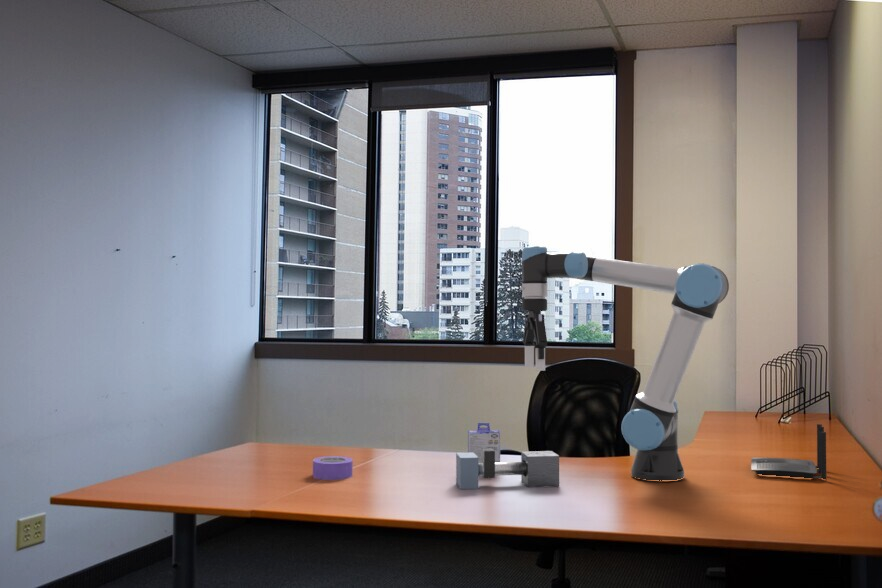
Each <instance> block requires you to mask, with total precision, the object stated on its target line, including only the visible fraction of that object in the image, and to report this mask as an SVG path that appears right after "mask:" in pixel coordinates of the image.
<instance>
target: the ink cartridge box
mask: <svg viewBox="0 0 882 588" xmlns="http://www.w3.org/2000/svg"><path fill="white" fill-rule="evenodd" d="M481 426H486V427H481ZM481 448H492V449H493V450H494V451H495V463H497V462H501V433H500V430H497V429H496V430H491V428H490V423H489V422H479V423H477V430H469V431H468V430H467V453H472V452H474V453H475V455H476V456H477V457H478V463H481Z"/></svg>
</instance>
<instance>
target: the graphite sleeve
mask: <svg viewBox="0 0 882 588" xmlns="http://www.w3.org/2000/svg"><path fill="white" fill-rule="evenodd" d="M520 453H521V455H520V458H521V459H520V462H526V475H520V477H521V478H520V479H521V483H522V484H524V485H525V486H526V488H547V487H551V488H552V487H560V455H559V454H557V453H556V452H554V451H553V450H540V451H539V450H538V451H536V450H535V451H532V450H531V451H521V452H520Z"/></svg>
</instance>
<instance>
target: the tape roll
mask: <svg viewBox="0 0 882 588" xmlns="http://www.w3.org/2000/svg"><path fill="white" fill-rule="evenodd" d="M353 466H354V465H353V458H352V457H348V456H340V455H339V456H337V455H336V456H335V455H331V456H328V455H327V456H321V457H316V458H314V459H313V460H312V477H313V479H317V480H322V481H323V480H324V481H338V480H345V479H350V478H352V477H353V469H354V468H353Z"/></svg>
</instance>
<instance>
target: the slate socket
mask: <svg viewBox="0 0 882 588" xmlns="http://www.w3.org/2000/svg"><path fill="white" fill-rule="evenodd" d="M455 456H456V458H455V459H456V460H455V467H456V469H455V473H456V475H455V479H456V480H455V481H456V482H455V483H456V485H457V486H458V488H459V489H460V490H475V489H476V490H477V489H479V476H478V457H477V456H476V455H475V453H474V452H472V453H468V452H456V453H455Z"/></svg>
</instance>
